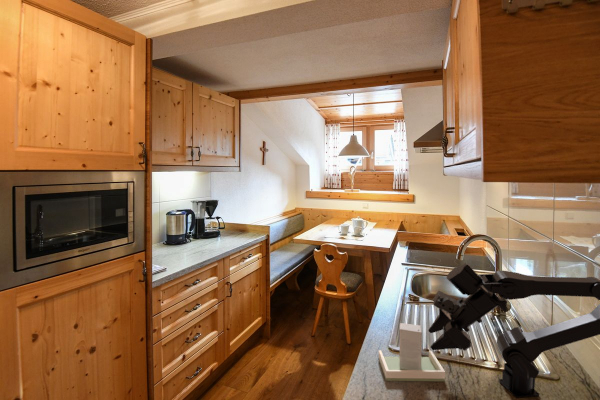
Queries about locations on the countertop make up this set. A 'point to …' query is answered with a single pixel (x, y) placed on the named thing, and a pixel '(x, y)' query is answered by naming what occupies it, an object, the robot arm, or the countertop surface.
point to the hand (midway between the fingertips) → (430, 339)
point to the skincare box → (410, 346)
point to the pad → (428, 371)
